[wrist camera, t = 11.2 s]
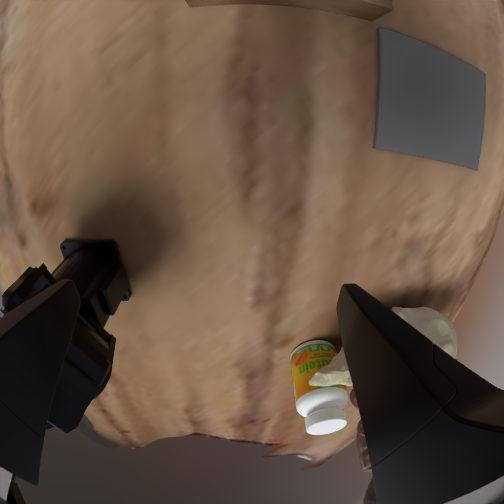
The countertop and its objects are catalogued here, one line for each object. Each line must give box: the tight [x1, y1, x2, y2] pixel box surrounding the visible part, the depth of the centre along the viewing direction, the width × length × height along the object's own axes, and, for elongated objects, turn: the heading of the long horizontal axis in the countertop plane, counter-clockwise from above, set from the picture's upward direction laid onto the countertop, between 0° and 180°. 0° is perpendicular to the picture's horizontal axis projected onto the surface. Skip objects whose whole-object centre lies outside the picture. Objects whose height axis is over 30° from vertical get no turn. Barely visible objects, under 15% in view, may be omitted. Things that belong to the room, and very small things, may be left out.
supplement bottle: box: [290, 340, 348, 435], centre depth 25 cm, size 5×5×10 cm
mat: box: [373, 27, 486, 171], centre depth 15 cm, size 12×10×1 cm
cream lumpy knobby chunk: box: [309, 307, 457, 386], centre depth 25 cm, size 15×7×15 cm
